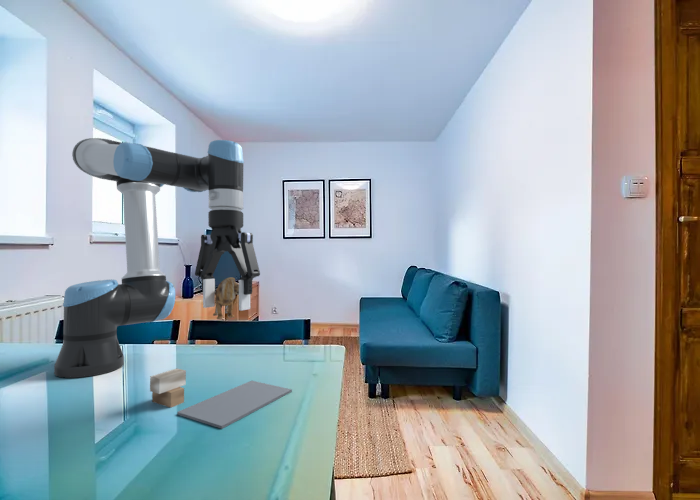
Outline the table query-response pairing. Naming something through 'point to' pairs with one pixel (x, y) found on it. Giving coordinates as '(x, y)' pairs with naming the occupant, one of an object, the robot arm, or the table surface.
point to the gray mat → (234, 404)
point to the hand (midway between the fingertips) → (226, 308)
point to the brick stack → (168, 387)
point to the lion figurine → (226, 297)
